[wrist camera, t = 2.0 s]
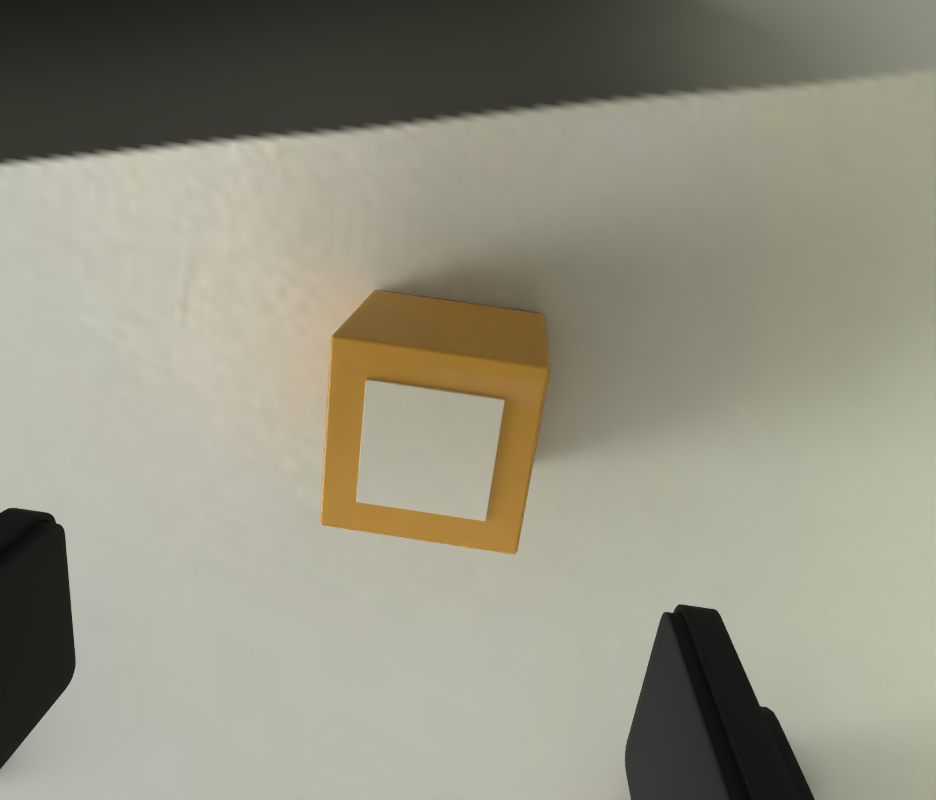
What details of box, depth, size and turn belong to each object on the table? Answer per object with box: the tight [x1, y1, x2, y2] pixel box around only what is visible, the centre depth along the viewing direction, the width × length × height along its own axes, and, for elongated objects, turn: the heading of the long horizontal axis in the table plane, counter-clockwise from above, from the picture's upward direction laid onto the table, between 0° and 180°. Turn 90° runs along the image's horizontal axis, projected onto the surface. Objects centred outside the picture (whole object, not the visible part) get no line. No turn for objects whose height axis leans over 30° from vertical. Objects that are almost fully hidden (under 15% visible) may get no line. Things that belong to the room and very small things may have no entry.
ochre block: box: [320, 290, 550, 554], centre depth 19 cm, size 5×5×5 cm
